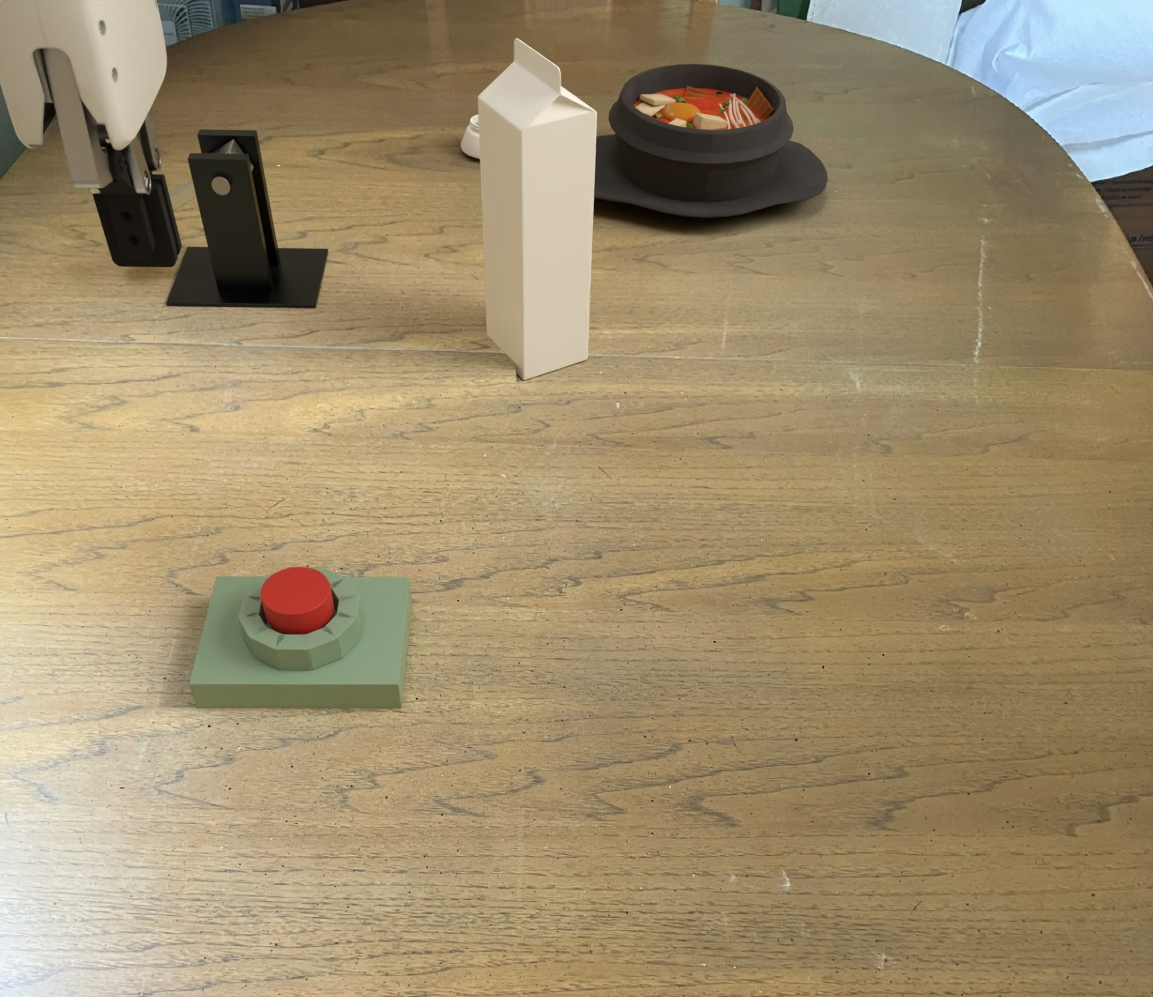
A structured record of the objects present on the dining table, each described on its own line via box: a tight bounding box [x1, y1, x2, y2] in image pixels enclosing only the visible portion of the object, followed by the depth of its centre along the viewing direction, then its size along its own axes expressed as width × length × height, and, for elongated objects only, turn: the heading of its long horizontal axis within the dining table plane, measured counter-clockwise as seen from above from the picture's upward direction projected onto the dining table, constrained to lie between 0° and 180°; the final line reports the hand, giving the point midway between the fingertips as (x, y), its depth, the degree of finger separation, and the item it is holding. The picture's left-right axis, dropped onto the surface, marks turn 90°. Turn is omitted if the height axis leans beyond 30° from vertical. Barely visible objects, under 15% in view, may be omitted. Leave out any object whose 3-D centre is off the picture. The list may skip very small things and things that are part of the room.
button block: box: [188, 566, 413, 709], centre depth 69 cm, size 12×9×4 cm
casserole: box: [594, 63, 829, 219], centre depth 107 cm, size 25×19×8 cm
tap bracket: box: [165, 128, 329, 309], centre depth 92 cm, size 12×9×12 cm
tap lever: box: [169, 140, 253, 212], centre depth 91 cm, size 13×3×3 cm, turn 91°
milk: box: [477, 37, 598, 381], centre depth 83 cm, size 6×6×22 cm
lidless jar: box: [460, 114, 480, 160], centre depth 113 cm, size 5×3×5 cm
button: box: [260, 566, 334, 635], centre depth 67 cm, size 4×4×2 cm
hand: (148, 258), depth 59 cm, fingers closed
